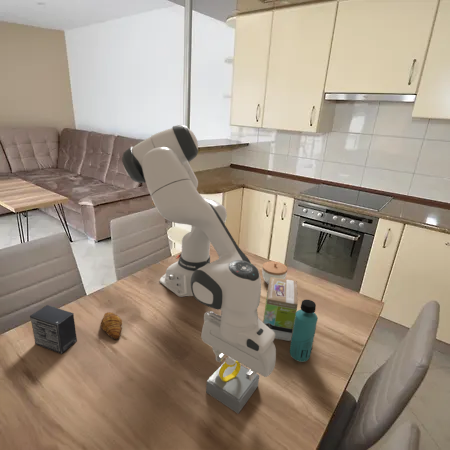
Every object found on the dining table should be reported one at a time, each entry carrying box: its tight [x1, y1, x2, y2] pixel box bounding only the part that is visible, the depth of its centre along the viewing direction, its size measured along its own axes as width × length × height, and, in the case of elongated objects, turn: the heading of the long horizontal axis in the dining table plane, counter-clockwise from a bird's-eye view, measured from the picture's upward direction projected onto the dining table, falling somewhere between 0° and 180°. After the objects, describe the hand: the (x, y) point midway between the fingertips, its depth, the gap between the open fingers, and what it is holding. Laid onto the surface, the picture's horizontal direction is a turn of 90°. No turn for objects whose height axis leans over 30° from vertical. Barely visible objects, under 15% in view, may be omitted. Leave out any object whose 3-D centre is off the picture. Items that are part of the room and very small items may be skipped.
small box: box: [29, 304, 78, 355], centre depth 91 cm, size 11×6×10 cm, turn 71°
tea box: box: [262, 277, 299, 342], centre depth 105 cm, size 15×10×15 cm, turn 168°
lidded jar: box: [261, 260, 288, 286], centre depth 132 cm, size 11×11×9 cm
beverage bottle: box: [289, 299, 318, 363], centre depth 90 cm, size 6×7×20 cm
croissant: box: [100, 311, 123, 341], centre depth 100 cm, size 14×7×5 cm, turn 33°
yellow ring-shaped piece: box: [219, 356, 242, 382], centre depth 78 cm, size 6×3×6 cm, turn 125°
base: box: [205, 361, 260, 415], centre depth 80 cm, size 10×10×4 cm
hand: (234, 368), depth 79 cm, fingers open, 8 cm apart
